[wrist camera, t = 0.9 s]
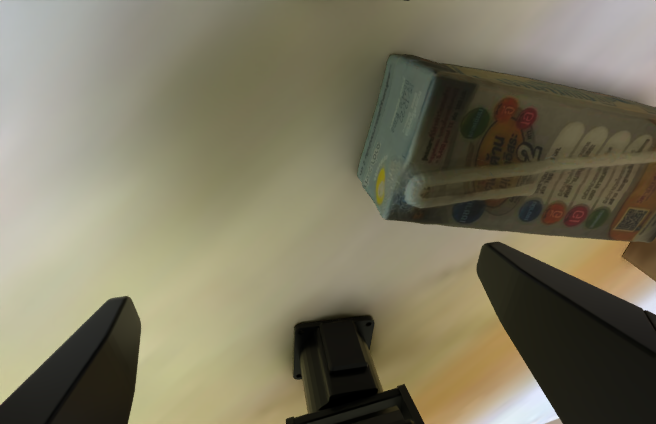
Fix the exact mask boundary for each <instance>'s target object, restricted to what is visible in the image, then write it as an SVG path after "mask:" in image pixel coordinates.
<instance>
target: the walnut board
mask: <svg viewBox="0 0 656 424" xmlns="http://www.w3.org/2000/svg"><path fill="white" fill-rule="evenodd" d="M622 257H623V258H625V259H626V260H627V261H629V262H630V263H631V264H633V265H634V266H635V267H637V268H638V269H639V270H641V271H642V272H644V273H645V274H646V275H648V276H649V277H650V278H652V279H653V280H654V281H656V237H655V239H654V240H653V241H652V242H650V243H647V242H639V241H637V242H631V243H630V244H629V246H628V248H627V249H626V251H625V253H624V254H623V256H622Z"/></svg>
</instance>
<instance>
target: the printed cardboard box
mask: <svg viewBox="0 0 656 424" xmlns="http://www.w3.org/2000/svg"><path fill="white" fill-rule="evenodd" d="M357 175H358V178H359V179H360V181H361V182H362V186H363V188H364V189H365V190H366V191H367V193H368V194H369V196H370V197H371V198H372V200H373V201H374V203H375V204H376V206H377V208H378V210H379V212H380V215H381V216H382V218H384V219H385V220H397V221H407V222H415V223H421V224H438V225H444V226H452V227H463V228H475V229H485V230H497V231H510V232H520V233H528V234H540V235H550V236H566V237H576V238H591V239H604V240H616V241H630V242H637V241H639V242H647V243H650V242H652V241H653V240H654V239H655V237H656V107H652V106H648V105H644V104H640V103H637V102H633V101H629V100H625V99H621V98H617V97H613V96H609V95H604V94H600V93H595V92H590V91H585V90H580V89H576V88H571V87H567V86H562V85H558V84H553V83H548V82H544V81H539V80H534V79H530V78H525V77H519V76H514V75H509V74H503V73H497V72H491V71H485V70H479V69H473V68H467V67H462V66H455V65H449V64H440V63H436V62H433V61H430V60H426V59H423V58H420V57H416V56H413V55H390V57H389V59H388V61H387V66H386V70H385V75H384V79H383V82H382V86H381V90H380V94H379V98H378V102H377V105H376V109H375V112H374V115H373V119H372V122H371V126H370V129H369V133H368V136H367V139H366V142H365V146H364V150H363V153H362V156H361V159H360V163H359V167H358V172H357Z"/></svg>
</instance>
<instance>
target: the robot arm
mask: <svg viewBox="0 0 656 424" xmlns="http://www.w3.org/2000/svg"><path fill="white" fill-rule="evenodd" d="M477 274H478V277H479V279H480V281H481V283H482V285H483V287H484V289H485V291H486V293H487V295H488V297H489V299H490V302H491V304H492V306H493V308H494V310H495V312H496V314H497V316H498V318H499V320H500V322H501V324H502V325H503V327H504V329H505V330H506V332H507V334H508V335H509V337H510V339H511V340H512V342H513V343H514V345H515V347H516V348H517V350H518V352H519V353H520V355H521V356H522V358H523V360H524V361H525V363H526V365H527V366H528V368H529V369H530V371H531V373H532V374H533V376H534V378H535V379H536V381H537V382H538V384H539V386H540V387H541V389H542V391H543V392H544V394H545V395H546V397H547V399H548V400H549V402H550V404H551V405H552V407H553V408H554V410H555V412H556V413H557V415H558V417H559V418H560V420H561V421H562V423H563V424H656V315H655V314H653V313H651V312H649V311H646V310H645V311H643V309H642V308H640V307H638V306H636V305H634V304H631V303H629V302H627V301H625V300H623V299H621V298H619V297H616V296H614V295H612V294H610V293H608V292H606V291H604V290H601V289H599V288H597V287H595V286H593V285H591V284H589V283H586V282H584V281H582V280H580V279H578V278H576V277H574V276H571V275H569V274H567V273H565V272H563V271H561V270H559V269H556V268H554V267H552V266H550V265H548V264H546V263H544V262H541V261H539V260H537V259H535V258H533V257H531V256H529V255H526V254H524V253H522V252H520V251H518V250H516V249H514V248H511V247H509V246H507V245H505V244H503V243H501V242H492V243H486V244H484V245H483V246H482V248H481V252H480V256H479V259H478V263H477ZM373 329H374V320H373V318H372V317H371V316H366V317H357V318H348V319H339V320H331V321H322V322H313V323H304V324H298V325H296V326H295V327H294V346H293V377H294V379H303V386H304V392H305V398H306V404H307V410H308V414H306V415H302V416H299V417H296V418H294V417H291V418H287V419H286V424H424V422H423V420H422V418H421V416H420V414H419V412H418V410H417V408H416V406H415V404H414V402H413V400H412V398H411V396H410V394H409V392H408V390H407V388H406V386H405V384H403V385H400V386H397V388H394V389H391V390H388V391H384V392H383V389H382V386H381V383H380V380H379V377H378V375H377V372H376V369H375V366H374V363H373V360H372V357H371V355H370V352H369V349H370V344H371V339H372V334H373ZM140 335H141V322H140V318H139V316H138V314H137V311H136V309H135V306H134V304H133V302H132V300H131V298H130V297H128V296H123V297H116V298H111V299H109V300H108V301H106V302H105V303H104V304H103V305H102V306H101V307H100V308H99V309H98V310H97V311H96V312H95V313H94V314H93V315H92V316H91V317H90V318H89V319H88V320H87V321H86V322H85V323H84V324H83V325H82V326H81V327H80V328H79V329H78V330H77V331H76V332H75V333H74V334H73V335H72V336H71V337H70V338H69V339H68V340H67V341H66V342H64V343H63V344H62V345H61V346H60V347H59V348H58V349H57V350H56V351H55V352H54V353H53V354H52V355H51V356H50V357H49V358H48V359H47V360H46V361H45V362H44V363H43V364H42V365H41V366H40V367H39V368H38V369H37V370H36V371H35V372H34V373H33V374H32V375H31V376H30V377H29V378H28V379H27V380H26V381H25V382H24V383H23V384H22V385H21V386H20V387H19V388H18V389H16V390H15V391H14V392H13V393H12V394H11V395H10V396H9V397H8V398H7V399H6V400H5V401H4V402H3V403H2V404H1V405H0V424H128V420H129V415H130V411H131V406H132V402H133V397H134V392H135V384H136V374H137V365H138V355H139V345H140Z"/></svg>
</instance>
